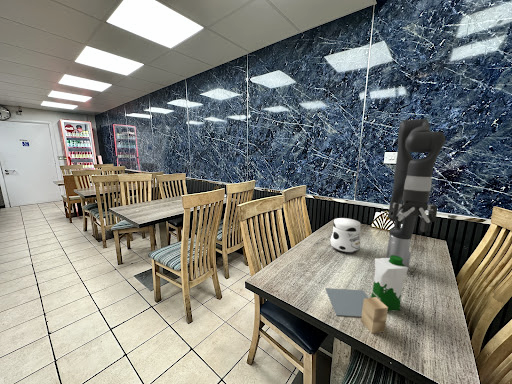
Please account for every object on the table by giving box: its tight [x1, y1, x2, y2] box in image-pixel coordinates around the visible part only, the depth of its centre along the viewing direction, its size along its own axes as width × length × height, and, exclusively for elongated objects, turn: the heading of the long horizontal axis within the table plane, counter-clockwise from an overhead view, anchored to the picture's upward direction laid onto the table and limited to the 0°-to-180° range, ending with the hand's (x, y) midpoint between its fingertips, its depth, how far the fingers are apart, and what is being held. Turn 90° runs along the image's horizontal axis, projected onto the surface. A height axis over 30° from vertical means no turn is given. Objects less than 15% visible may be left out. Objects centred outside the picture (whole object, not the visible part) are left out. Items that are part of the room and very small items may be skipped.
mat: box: [325, 287, 369, 318], centre depth 79 cm, size 16×15×1 cm
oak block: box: [360, 297, 389, 334], centre depth 68 cm, size 5×5×9 cm
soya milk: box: [370, 255, 409, 312], centre depth 77 cm, size 9×9×20 cm
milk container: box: [330, 217, 362, 254], centre depth 125 cm, size 17×17×18 cm
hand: (410, 230), depth 75 cm, fingers open, 8 cm apart
